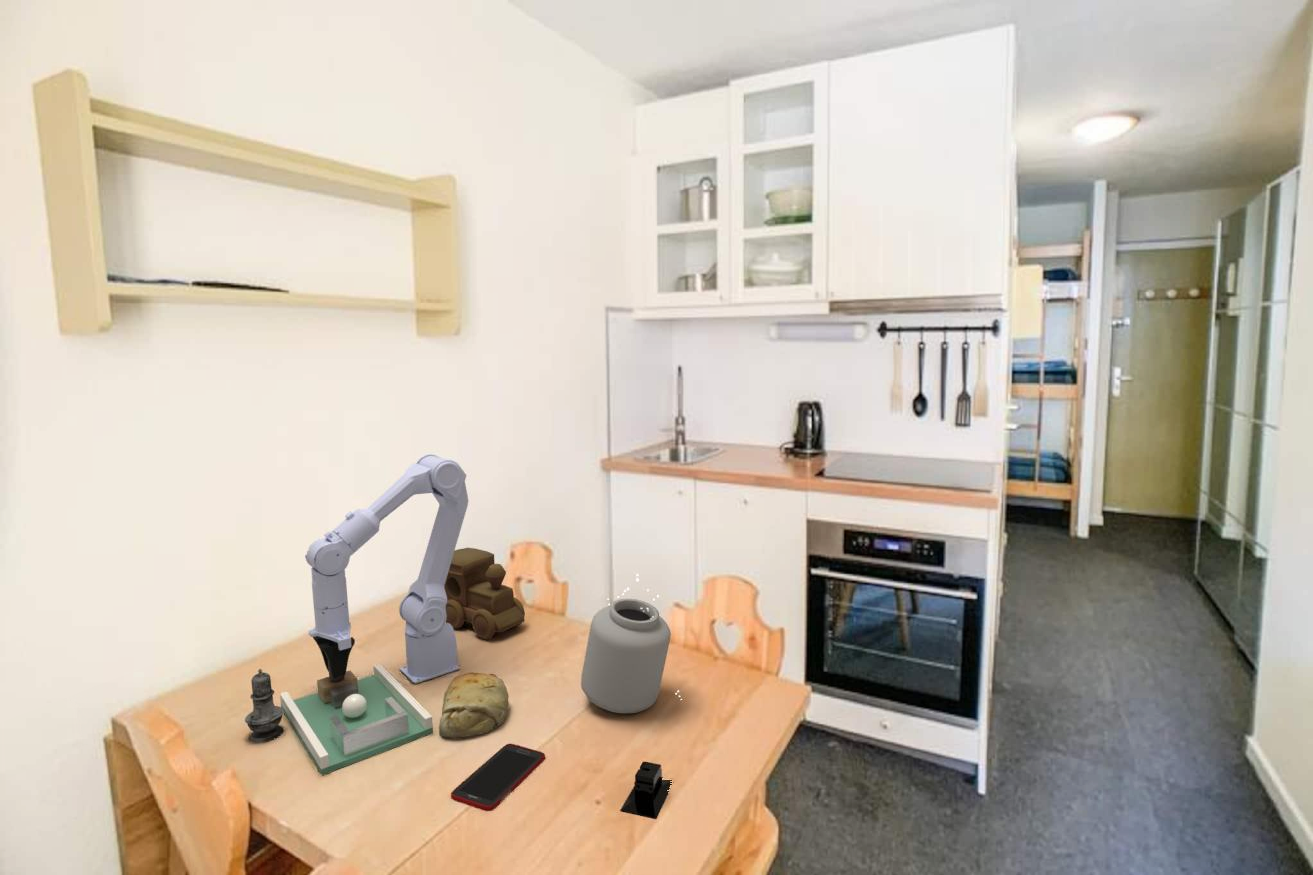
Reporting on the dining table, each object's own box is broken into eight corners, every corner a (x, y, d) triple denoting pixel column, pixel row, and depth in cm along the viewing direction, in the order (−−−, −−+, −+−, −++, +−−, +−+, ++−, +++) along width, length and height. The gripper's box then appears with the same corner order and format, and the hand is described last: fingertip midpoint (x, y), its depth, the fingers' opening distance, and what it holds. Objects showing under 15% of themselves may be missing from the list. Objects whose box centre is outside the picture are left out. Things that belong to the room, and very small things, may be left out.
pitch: (380, 677, 141) (379, 663, 140) (433, 732, 121) (432, 716, 121) (281, 708, 129) (279, 693, 129) (321, 775, 110) (320, 757, 109)
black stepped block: (640, 769, 112) (639, 742, 111) (684, 777, 109) (684, 750, 109) (610, 820, 100) (610, 790, 99) (659, 831, 98) (659, 800, 97)
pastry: (489, 693, 135) (487, 653, 134) (526, 717, 126) (525, 675, 125) (420, 721, 125) (417, 679, 124) (455, 750, 116) (453, 705, 115)
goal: (392, 715, 125) (391, 696, 125) (408, 733, 119) (407, 714, 119) (330, 736, 118) (329, 717, 118) (344, 757, 113) (343, 737, 112)
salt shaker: (268, 745, 118) (261, 678, 116) (238, 741, 119) (231, 675, 117) (293, 726, 124) (287, 662, 122) (264, 722, 125) (258, 659, 123)
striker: (351, 684, 136) (348, 645, 134) (363, 698, 130) (360, 658, 129) (318, 695, 132) (314, 654, 131) (329, 710, 127) (325, 668, 125)
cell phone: (547, 758, 114) (547, 752, 114) (490, 814, 101) (490, 808, 101) (508, 747, 117) (508, 741, 117) (448, 800, 104) (447, 794, 104)
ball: (363, 707, 128) (361, 687, 127) (370, 716, 125) (369, 695, 124) (339, 715, 125) (338, 694, 124) (347, 725, 122) (345, 703, 121)
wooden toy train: (435, 625, 166) (431, 557, 164) (473, 609, 176) (470, 545, 173) (493, 645, 155) (490, 573, 153) (530, 628, 164) (528, 559, 162)
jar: (692, 693, 134) (692, 566, 130) (662, 733, 120) (661, 594, 117) (604, 675, 141) (601, 555, 137) (566, 711, 128) (562, 579, 124)
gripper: (296, 598, 133) (302, 665, 135) (319, 621, 122) (325, 694, 124) (336, 589, 137) (341, 654, 139) (361, 610, 126) (366, 681, 128)
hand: (336, 672), depth 132 cm, fingers closed on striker, 3 cm apart
